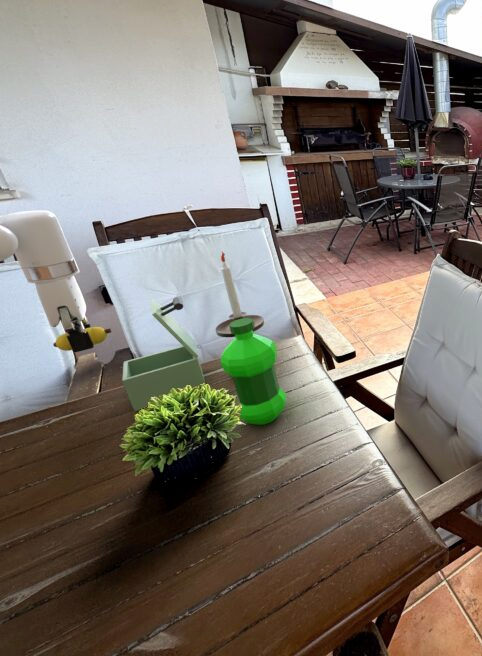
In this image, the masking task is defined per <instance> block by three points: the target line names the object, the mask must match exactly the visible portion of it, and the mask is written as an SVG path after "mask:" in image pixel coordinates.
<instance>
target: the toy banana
mask: <svg viewBox="0 0 482 656" xmlns="http://www.w3.org/2000/svg"><path fill="white" fill-rule="evenodd" d="M87 331H88V333H89V336H90V338H91V340H92V342H93V345H94V346H95V345H98V344H101V343H103V342H105V340H106V339H107V337H108V334H111V333H112V329H111V328H105V329H104V328H103V327H100V326H91V327H90V328H86V329H85V332H87ZM52 346H53V347H55V348H58V349H59V350H61V351H66V352H69V351H73V350H72V348H71V345H70V343H69V341H68V339H67V336H66V333H65V332H64V333H61V334H60V335H59V336H58V337H57V338H56V340H55V342H54V343H53V345H52Z"/></svg>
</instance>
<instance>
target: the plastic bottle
mask: <svg viewBox="0 0 482 656" xmlns="http://www.w3.org/2000/svg"><path fill="white" fill-rule="evenodd" d="M229 327H230V330H231V333H232V334H234V335H235V337H234V339H233V340H232V341H230V343H229V344H228V345H227V346H226V347H225V348H224V350H223V352H222V354H221V357H220V365H221V368H222V370H223V371H224V373H226V374H228V375H229V376H231V377H232V379H233V383H234V387H235V390H236V395H237V397H238V400H239V402H238V404H237V406H238V405H239V404H241V405H242V410H241V415H240V417H239V418H240V419H241V420H242V421H244V422H246V423H247V424H250V425H256V426H261V425H266V424H269V423H271V422H273V421H274V420H276V419H277V418H278V416H279V415H280V414H281V413H282V412H283V411H284V410H285V407H286V402H287V394H286V392H285V391H284V390H283V388H281V387H280V386H279V381H278V376H277V373H276V368H275V363H276V361H277V357H278V348H277V344H276V343H275V342H274V341H273V340H272V339H270V338H267V337H265V336H262V335H260V334H256V333H254V332H253V330H254V327H255V326H254V322H253V319H251V318H242V319H238V320H235V321H233V322H231V323H230V325H229Z"/></svg>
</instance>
